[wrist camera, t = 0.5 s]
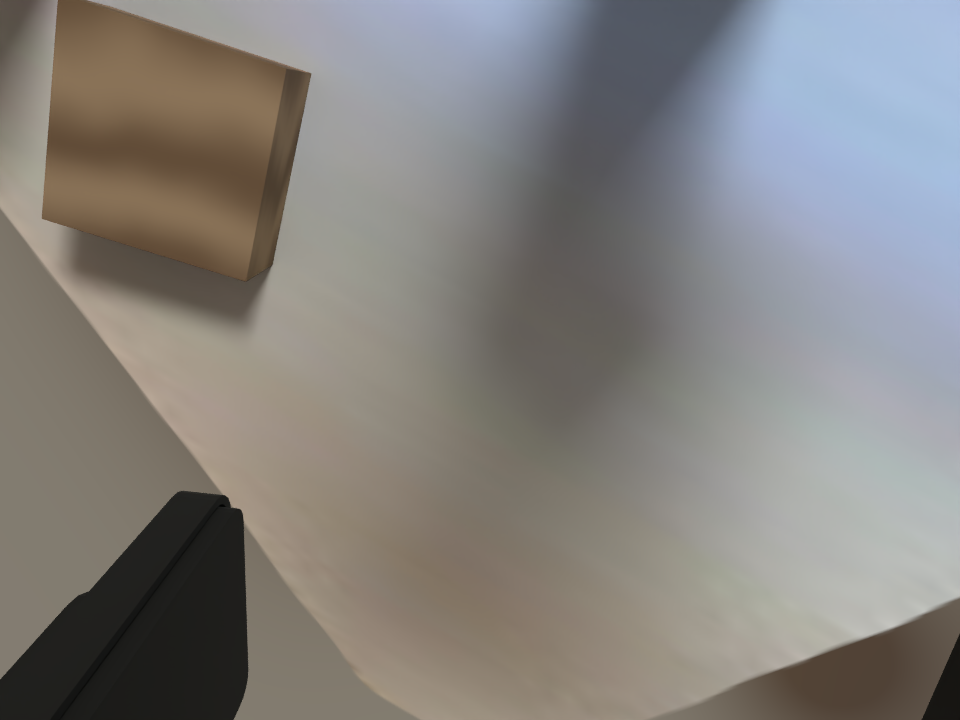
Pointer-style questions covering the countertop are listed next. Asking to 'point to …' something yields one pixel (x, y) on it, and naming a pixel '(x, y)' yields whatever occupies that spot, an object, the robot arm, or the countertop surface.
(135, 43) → the walnut block
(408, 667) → the countertop surface
